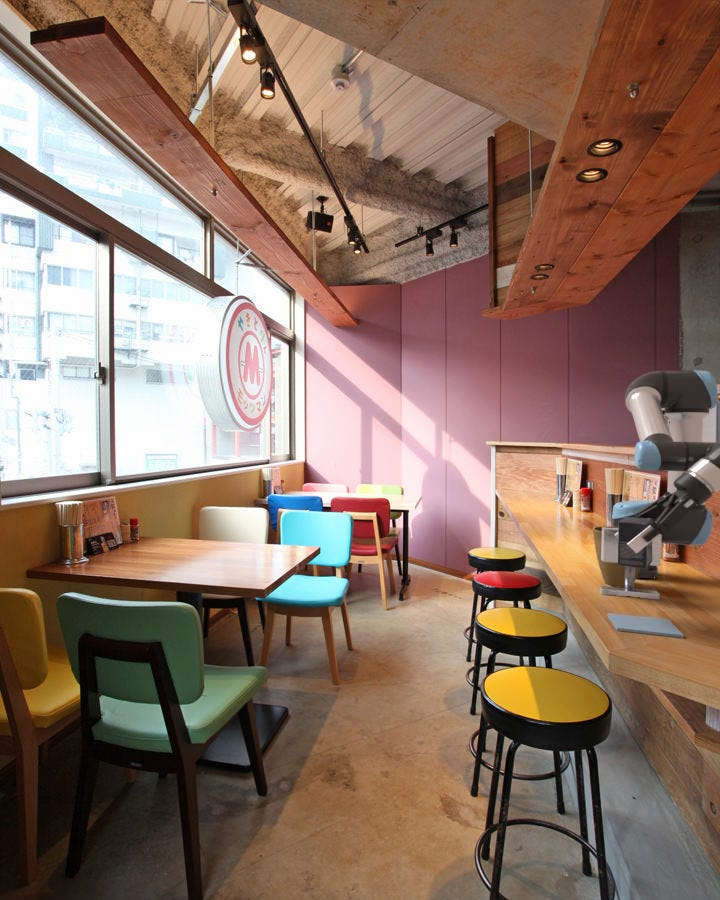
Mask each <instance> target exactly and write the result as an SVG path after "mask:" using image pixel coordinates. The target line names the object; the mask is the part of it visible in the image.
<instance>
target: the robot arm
mask: <svg viewBox="0 0 720 900" xmlns="http://www.w3.org/2000/svg"><path fill="white" fill-rule="evenodd" d="M718 393H719V392H718V385H717V381H716V378H715V377H714V375H713V373H711V371H709V370H698V369H697V370H696V369H692V370H670V371H669V370H666V371H665V370H664V371H659V370H657V371H650V372H646V373H644V374H642V375H640V376H638V377H637V378H636V379H634V380H633V381H632V382H631V383H630V384H629V386H628V387H627V389H626V391H625V394H624V402H625V406H626V409H627V410H628V411H629V412H630V413H631V415H632V418H633V420H634V425H635V428H636V433H637V435H638V439H639V441H638V442H636V444H635V448H634V464H635V467H636V468H637V469H638V470H647V471H652V472H657V471H663V472H667V488H666V489H667V491H666V492H665V493H664V494H663V495H662V496H660V497H659V498H657V499H656V500H655V501H653V500H642V499H641V500H640V499H639V500H638V499H637V500H625V501H620V502H617V503H615V504H614V505H613V508H612V515H611V519H612V520H611V523H612V525H611V527H618V522H619V521H620V520H622V519H623V518H625V517H634V518H650V519H653V522H651V523H650V525H651V526H652V527H653V528H652V527H651V526H650V525H649V526H648V527H647V528H646V529H645V530H643V531H642V532H641V533H640V534H638V535H637V536H636V537H635V538H633V539H632V540H631V541H630V542H629V543H627V545H628V546H629V547H630V548H631V549H632V550H633V551H634V552H635V553H638V552H639V551H640V550H642V549H643V548H644V547H645V546H647V545H648V544H649V543H650V542H652V541H653V540H654V539H655V538H657V537H658V536H659V534H660V535H661V534H662V537H661V544H669V545H670V544H672V545H683V546H685V547H688V546H698V547H699V546H703V545H705V544H706V543H707V541H708V540H709V539H710V536H711V534H712V531H713V525H714V524H713V521H714V518H713V512H712V510H711V509H709V508H707V507H706V502H707V501H709V499H710V498H712V497H713V494H716V493H718V492H719V491H720V441H718V442H715V441H714V442H713V441H712V442H710V441H709V442H707V441H706V442H705V441H703V431H704V430H703V427H704V425H703V424H704V419H705V418H706V417H708V416H709V415H710V410H712V409H714V408H716V406H717V404H718V397H719V395H718ZM662 409H664V412H663V410H662ZM665 416H666V417H667V418H668V419H669V426H668V422H667V420H666V417H665ZM615 536H616V537H617V538H618V532H617V533H616V534H615ZM658 567H659V566H652V565H649V566H648V568H647V569H644V568H640V571H639V573H638V576H637V578H654V577H657V576H658V577H659V568H658ZM658 577H657V578H658ZM637 578H636V579H637ZM654 579H655V578H654Z"/></svg>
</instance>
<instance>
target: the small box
mask: <svg viewBox="0 0 720 900" xmlns="http://www.w3.org/2000/svg"><path fill="white" fill-rule="evenodd" d="M651 522H653V519H650V518H634V517H625V518H623V519H622V520H620V521H619V522H618V565H623V566H630V567H637V568H644V569H647V568H648V566H649V565H650V563H651V562H652V542H650V543H649V544H648V545H647V546H645V547H644V548H643V549H642V550H640V551H639V552H638V553H635V552H634V551H633V550H632V549H631V548H630V547H629V546H628V545H627V543H629V542H630V541H631V540H632V539H633V538H635V537H636V536H637V535H638V534H640V533H641V532H642V531H643V530H645V529H646V528H647V527H648V526H649V525H650V523H651ZM650 526H651V525H650ZM651 527H652V526H651ZM652 528H653V527H652Z"/></svg>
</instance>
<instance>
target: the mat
mask: <svg viewBox="0 0 720 900" xmlns="http://www.w3.org/2000/svg"><path fill="white" fill-rule="evenodd" d="M606 616H607V617H608V619H609V621H610V622H611V624H612V625H613V626H614V628H615V629H616V631H618V632H627V633H635V634H645V635H654V636H662V637H663V636H664V637H673V638H680V639H681V638H682V639H685V635H684V634H683V632H681V630H680V629H679V628H678V627H676V625H674V623H672V621H670V619H668V618H667V619H666V618H658V617H647V616H642V615H641V616H639V615H631V614H630V615H629V614H620V613H613V612H612V613H611V612H609V613H608V612H607V613H606Z"/></svg>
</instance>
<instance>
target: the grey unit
mask: <svg viewBox="0 0 720 900" xmlns="http://www.w3.org/2000/svg"><path fill="white" fill-rule="evenodd" d="M617 532H618V528H607V527H602V543H601V560H602V561H603V562H614V563H618V538H617V537H616V536H615V534H616V533H617ZM661 537H662V534H661V535H660V534H659V536H658V537H657V538H655V539H654V540H653V541H652V562H651V563H650V565H652V566H657V567H661V564H662V563H661V562H662V561H661V559H662V558H661V557H662V555H661V554H662V543H661ZM634 579H635V567H630V566H625V578H624V588H621V587H615V586H609V585H607V586H606V585H600V586H599V592H600V593H601V595H608V596H615V595H616V597H617V596H618V597H626V596H631V597H630V598H637V597H640V598H639V599H648V600H649V599H650V600H659V601H660V593H659V592H658V591H657V590H650V589H639V588H635V582H634Z"/></svg>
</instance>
